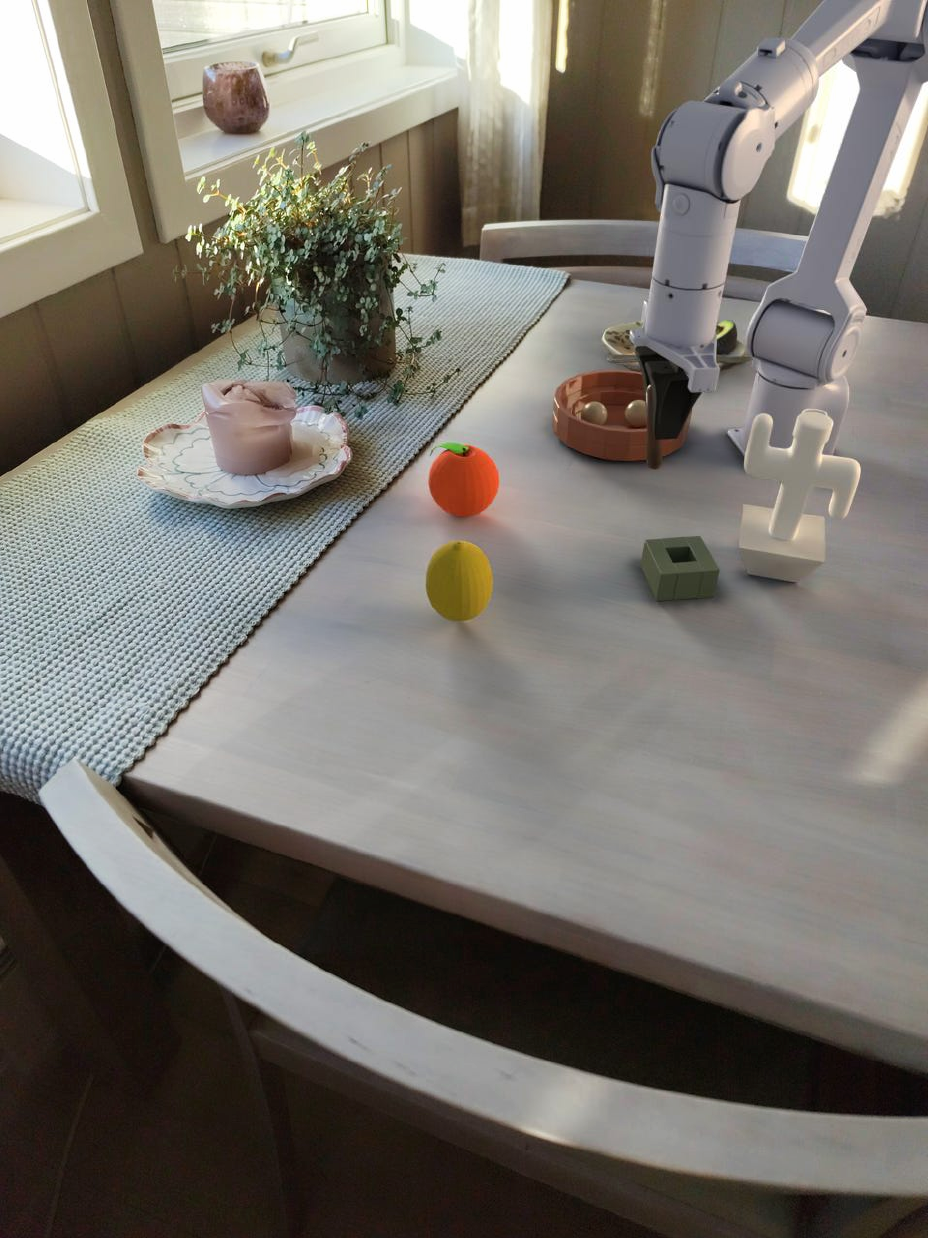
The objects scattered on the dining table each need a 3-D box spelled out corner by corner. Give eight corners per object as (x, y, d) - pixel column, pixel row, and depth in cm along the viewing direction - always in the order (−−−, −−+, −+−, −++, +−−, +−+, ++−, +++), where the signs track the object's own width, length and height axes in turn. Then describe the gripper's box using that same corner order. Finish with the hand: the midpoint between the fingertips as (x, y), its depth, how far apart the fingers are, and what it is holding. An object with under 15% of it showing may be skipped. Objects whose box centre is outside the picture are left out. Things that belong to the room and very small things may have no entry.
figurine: (826, 597, 76) (880, 446, 66) (717, 578, 78) (753, 428, 69) (826, 551, 81) (875, 404, 72) (723, 534, 84) (758, 389, 74)
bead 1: (611, 403, 98) (604, 400, 96) (608, 430, 99) (601, 428, 96) (586, 402, 100) (578, 399, 97) (583, 428, 100) (576, 426, 97)
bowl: (663, 397, 106) (668, 366, 103) (704, 460, 94) (711, 427, 92) (541, 404, 104) (543, 372, 102) (567, 468, 93) (570, 435, 90)
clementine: (407, 508, 87) (404, 445, 82) (452, 481, 91) (452, 419, 86) (467, 539, 83) (467, 474, 78) (512, 509, 87) (515, 445, 82)
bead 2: (654, 429, 98) (656, 408, 99) (644, 413, 96) (647, 392, 97) (629, 434, 100) (632, 413, 101) (619, 418, 97) (622, 397, 99)
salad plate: (642, 398, 105) (647, 362, 102) (567, 344, 118) (570, 310, 115) (767, 369, 112) (776, 335, 109) (684, 321, 124) (689, 289, 121)
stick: (649, 463, 81) (649, 378, 75) (664, 465, 80) (665, 380, 74) (644, 471, 80) (644, 386, 74) (659, 473, 79) (660, 388, 74)
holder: (694, 562, 80) (700, 535, 78) (713, 597, 76) (720, 570, 74) (639, 566, 80) (644, 539, 78) (656, 601, 76) (661, 574, 74)
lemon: (425, 600, 76) (422, 524, 71) (488, 597, 76) (490, 521, 71) (428, 642, 72) (426, 565, 66) (495, 639, 72) (497, 561, 67)
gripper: (616, 249, 74) (599, 397, 83) (665, 313, 63) (640, 476, 72) (696, 247, 74) (671, 394, 83) (759, 310, 63) (722, 471, 72)
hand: (662, 432), depth 77 cm, fingers closed on stick, 1 cm apart
